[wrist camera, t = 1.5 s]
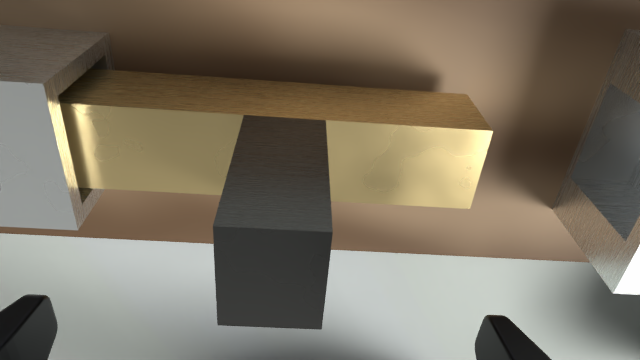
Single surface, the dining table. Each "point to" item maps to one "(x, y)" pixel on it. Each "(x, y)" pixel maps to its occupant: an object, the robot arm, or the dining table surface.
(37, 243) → the dining table surface
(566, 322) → the dining table surface
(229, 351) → the dining table surface
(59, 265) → the dining table surface
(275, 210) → the brass t-shaped handle
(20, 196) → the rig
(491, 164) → the board
